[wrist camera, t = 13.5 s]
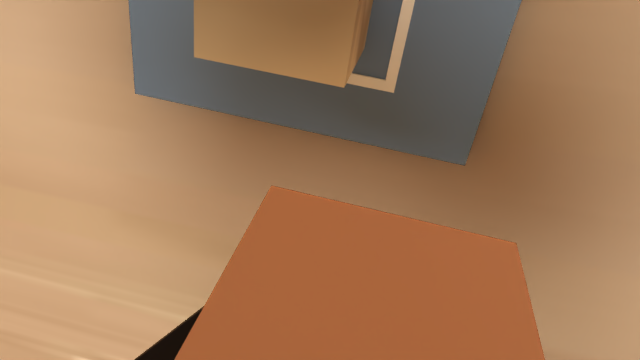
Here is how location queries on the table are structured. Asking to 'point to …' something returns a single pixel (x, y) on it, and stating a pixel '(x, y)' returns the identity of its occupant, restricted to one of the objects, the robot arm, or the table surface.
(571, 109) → the table surface
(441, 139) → the board
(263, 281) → the terracotta block
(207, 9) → the maple block
